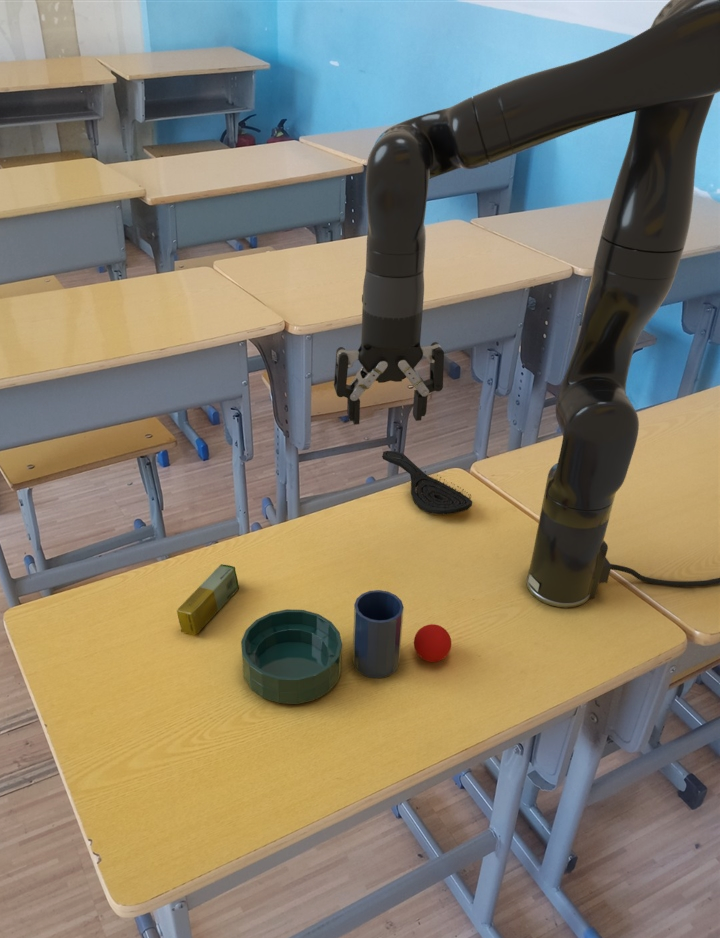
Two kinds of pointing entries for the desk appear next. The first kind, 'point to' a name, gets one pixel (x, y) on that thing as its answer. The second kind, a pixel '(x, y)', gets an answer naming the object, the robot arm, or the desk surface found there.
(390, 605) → the pencil cup
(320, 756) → the desk surface
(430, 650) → the ball
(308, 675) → the bowl
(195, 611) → the medication box
